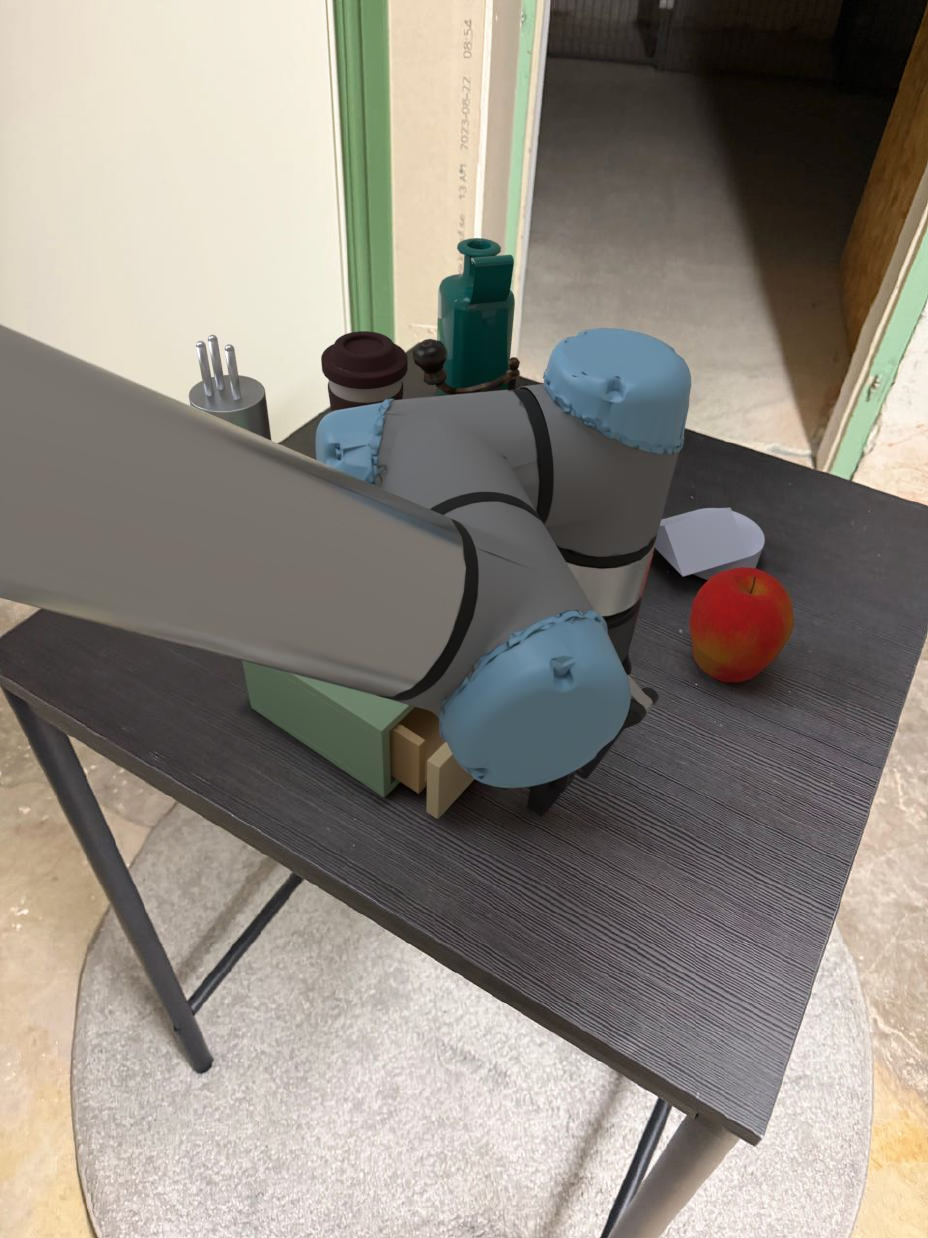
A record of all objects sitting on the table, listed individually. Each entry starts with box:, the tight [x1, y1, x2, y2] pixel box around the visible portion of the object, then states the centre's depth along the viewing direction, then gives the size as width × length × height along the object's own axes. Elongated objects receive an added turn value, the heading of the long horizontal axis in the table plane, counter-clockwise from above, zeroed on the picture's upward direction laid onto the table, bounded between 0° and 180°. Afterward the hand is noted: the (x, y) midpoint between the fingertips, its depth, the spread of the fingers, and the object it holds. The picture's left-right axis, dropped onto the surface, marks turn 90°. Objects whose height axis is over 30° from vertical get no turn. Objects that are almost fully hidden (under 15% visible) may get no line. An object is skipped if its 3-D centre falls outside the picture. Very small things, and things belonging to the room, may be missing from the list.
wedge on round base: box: [654, 507, 766, 581], centre depth 94 cm, size 9×7×13 cm
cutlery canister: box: [188, 334, 273, 441], centre depth 82 cm, size 7×7×26 cm
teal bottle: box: [435, 237, 516, 396], centre depth 111 cm, size 10×8×22 cm
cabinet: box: [241, 661, 415, 799], centre depth 76 cm, size 16×14×9 cm
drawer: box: [389, 707, 510, 820], centre depth 73 cm, size 19×13×7 cm
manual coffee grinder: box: [412, 338, 521, 395], centre depth 99 cm, size 16×11×18 cm
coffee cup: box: [320, 330, 408, 412], centre depth 104 cm, size 10×10×15 cm
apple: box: [688, 567, 795, 683], centre depth 80 cm, size 9×9×12 cm
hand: (543, 801), depth 70 cm, fingers closed
